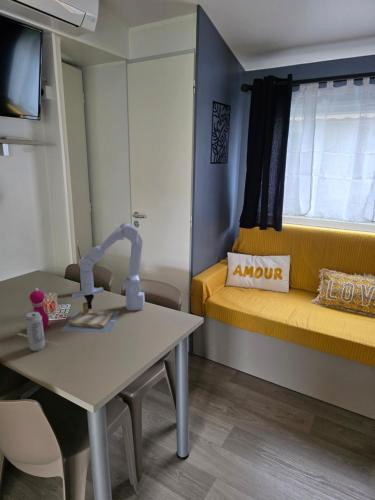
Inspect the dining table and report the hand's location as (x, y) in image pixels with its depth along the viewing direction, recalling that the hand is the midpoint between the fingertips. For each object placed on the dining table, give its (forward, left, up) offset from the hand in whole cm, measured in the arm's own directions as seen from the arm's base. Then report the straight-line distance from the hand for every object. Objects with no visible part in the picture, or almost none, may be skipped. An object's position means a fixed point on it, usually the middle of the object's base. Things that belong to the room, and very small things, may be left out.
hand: (89, 308), depth 163 cm
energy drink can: (+13, +29, -4) cm, 32 cm away
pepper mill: (+18, +14, -4) cm, 23 cm away
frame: (-3, +7, -3) cm, 8 cm away
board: (-3, +7, -4) cm, 8 cm away
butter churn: (+10, -28, -4) cm, 30 cm away
